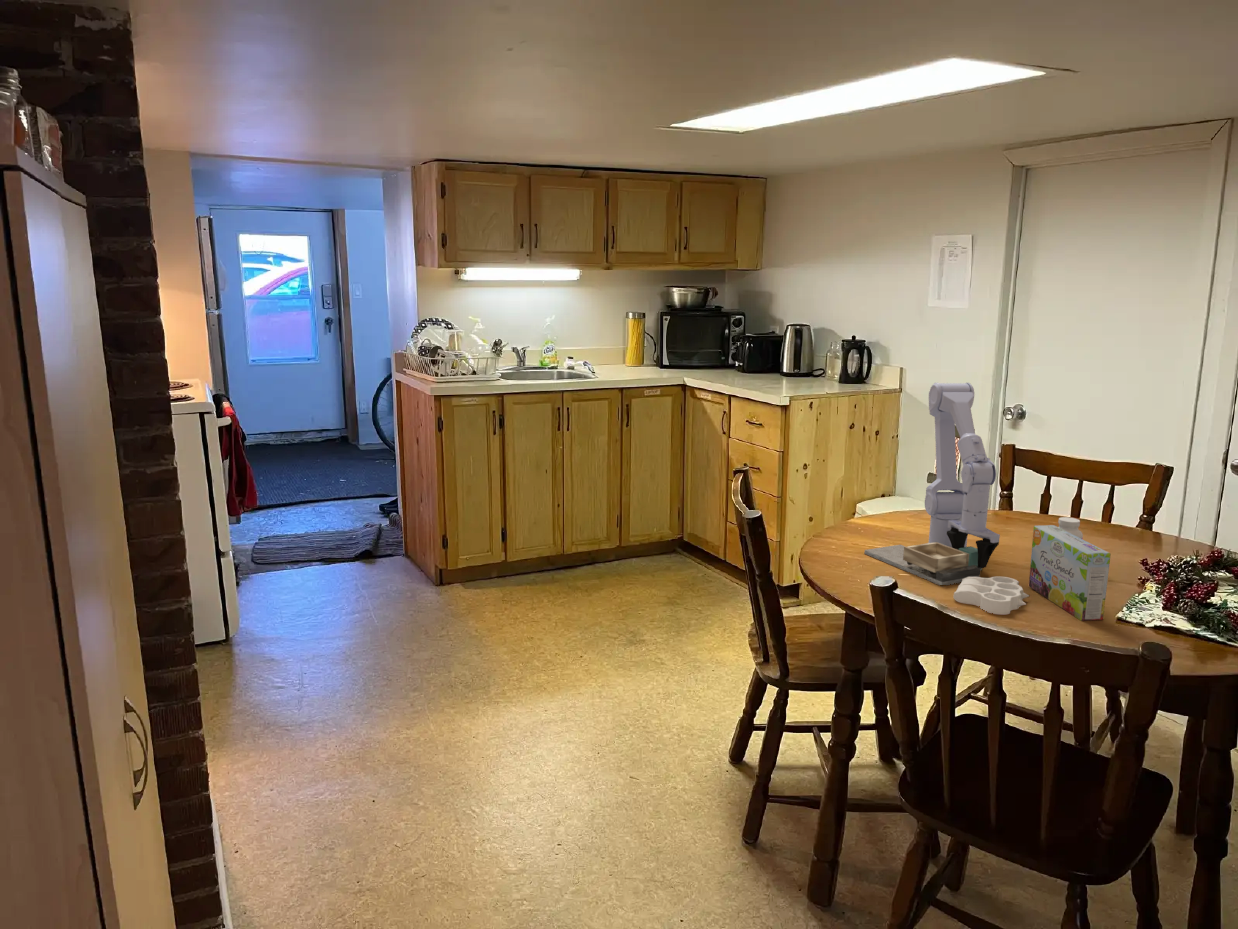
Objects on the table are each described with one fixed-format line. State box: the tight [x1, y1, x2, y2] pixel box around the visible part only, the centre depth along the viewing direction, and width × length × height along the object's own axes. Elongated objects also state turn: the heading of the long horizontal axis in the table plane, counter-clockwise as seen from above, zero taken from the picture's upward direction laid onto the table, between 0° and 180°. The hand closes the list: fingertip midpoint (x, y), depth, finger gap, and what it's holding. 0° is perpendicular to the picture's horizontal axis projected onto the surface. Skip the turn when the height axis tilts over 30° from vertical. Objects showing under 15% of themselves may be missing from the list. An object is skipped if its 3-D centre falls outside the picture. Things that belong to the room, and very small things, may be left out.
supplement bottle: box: [1057, 516, 1084, 540], centre depth 215 cm, size 7×7×13 cm
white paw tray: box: [952, 575, 1030, 616], centre depth 196 cm, size 3×18×15 cm
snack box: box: [1028, 524, 1111, 622], centre depth 193 cm, size 21×6×15 cm, turn 5°
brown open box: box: [903, 542, 969, 574], centre depth 213 cm, size 11×11×4 cm
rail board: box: [864, 544, 982, 586], centre depth 218 cm, size 12×27×3 cm, turn 25°
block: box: [959, 546, 983, 571], centre depth 216 cm, size 4×4×5 cm
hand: (969, 563), depth 217 cm, fingers open, 7 cm apart
